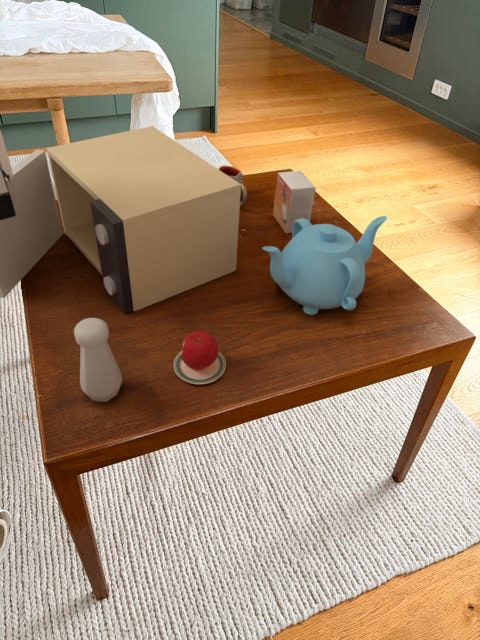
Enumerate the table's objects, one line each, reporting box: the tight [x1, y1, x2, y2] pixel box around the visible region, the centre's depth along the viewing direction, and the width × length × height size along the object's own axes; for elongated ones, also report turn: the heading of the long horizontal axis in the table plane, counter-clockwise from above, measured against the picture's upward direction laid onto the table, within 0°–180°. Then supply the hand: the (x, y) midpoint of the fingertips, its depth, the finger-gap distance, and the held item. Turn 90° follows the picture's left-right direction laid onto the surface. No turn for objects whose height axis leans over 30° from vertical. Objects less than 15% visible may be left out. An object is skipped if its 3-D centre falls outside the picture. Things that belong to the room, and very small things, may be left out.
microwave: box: [46, 125, 241, 315], centre depth 93 cm, size 24×30×18 cm
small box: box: [272, 170, 317, 234], centre depth 107 cm, size 8×6×10 cm
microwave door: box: [0, 149, 64, 299], centre depth 88 cm, size 6×22×18 cm, turn 168°
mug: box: [217, 165, 248, 208], centre depth 114 cm, size 12×7×7 cm, turn 25°
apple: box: [173, 330, 227, 385], centre depth 74 cm, size 8×8×6 cm
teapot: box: [261, 215, 388, 316], centre depth 87 cm, size 16×20×14 cm
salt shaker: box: [73, 317, 123, 403], centre depth 68 cm, size 6×6×13 cm
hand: (4, 216), depth 78 cm, fingers closed
